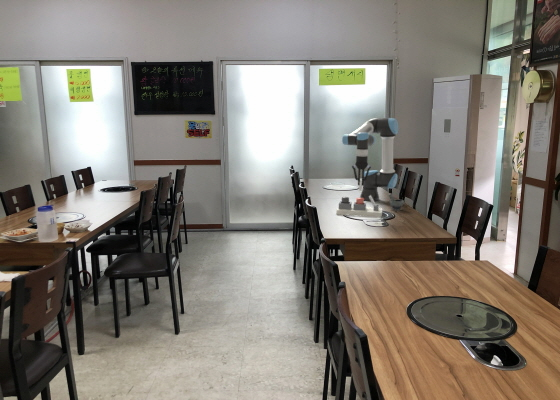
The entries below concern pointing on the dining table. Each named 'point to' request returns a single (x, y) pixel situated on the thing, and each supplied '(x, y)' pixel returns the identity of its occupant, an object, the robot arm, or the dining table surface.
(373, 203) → the lever
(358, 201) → the button red
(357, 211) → the console
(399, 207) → the mortar and pestle
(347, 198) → the button black
